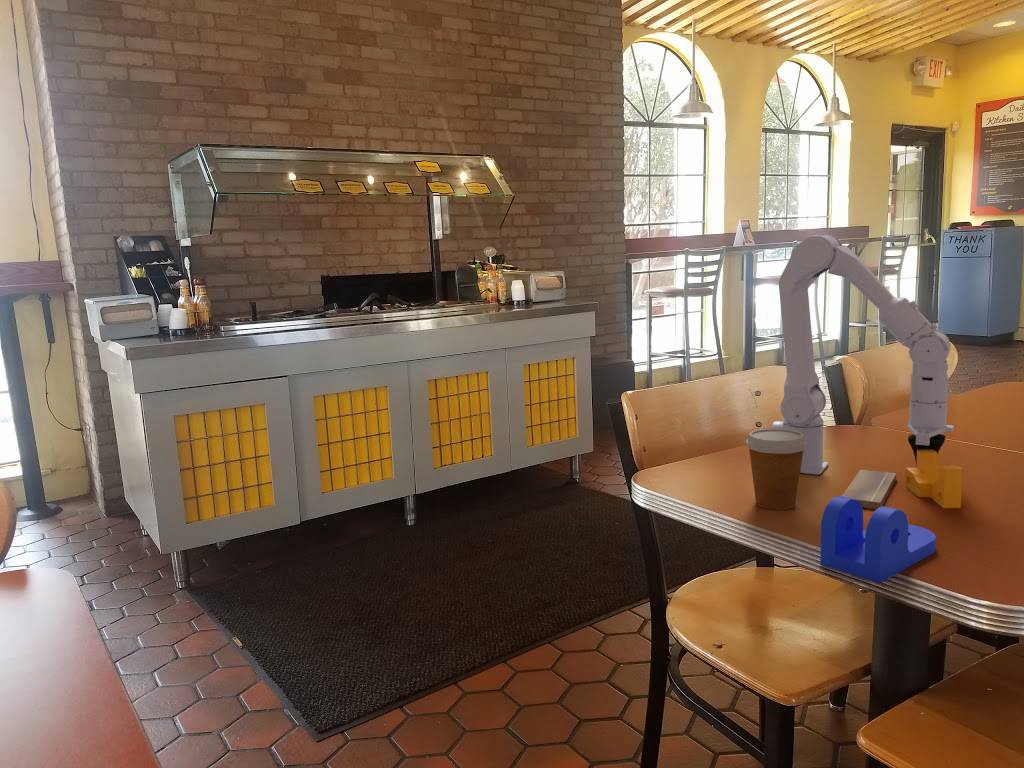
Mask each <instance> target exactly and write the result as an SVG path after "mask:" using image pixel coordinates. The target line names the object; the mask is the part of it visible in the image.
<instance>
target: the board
mask: <svg viewBox="0 0 1024 768" xmlns="http://www.w3.org/2000/svg"><path fill="white" fill-rule="evenodd" d="M896 481H897V473H896V472H890V471H889V472H888V471H877V470H868V469H859V470H858V472H857V474H856V475H855V477H854V478H853V479H852V481H851V483H850V484H849V485H848V487H847V488H846V489H845V491H844V492H843V493H842V494H841V496H843V497H847V498H851V499H856V500H857V501H859V503H860V504H861V506H862V509H863V508H865V509H872V510H876V509H878V508H879V507H882V506H884V503H885V502H886V500H887V498H888V496H889V494H890V492H891V490H892V488H893V486H894V484H895V483H896Z"/></svg>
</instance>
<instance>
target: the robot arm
mask: <svg viewBox="0 0 1024 768" xmlns="http://www.w3.org/2000/svg"><path fill="white" fill-rule="evenodd" d="M826 272H827V274H830V275H834V276H838V277H842V278H845V279H847V280H848V281H849V282H850V283H851V284H852V285H853V286H854V287H855V288H856V289H857V290H858V291H860V293H862V294H863V295H864V296H865V297H866V298H867V299H868V300H869V301H870V302H871V303H872V304H873V305H874V306H875V307H876V308H877V310H878V321H879V322H880V323H881V324H882V325H883V326H884V328H886V329H887V331H888V332H889V333H890V334H891V335H892V336H893V337H894V338H895V339H896V340H897V341H898V342H899V343H900V344H901V345H902V347H906V348H908V349H909V350H908V355H909V358H910V360H911V361H912V373H911V375H910V395H909V398H910V399H909V419H908V420H909V421H908V423H907V429H908V430H909V431H910V432H911V434H909V435H908V437H907V440H908V443H909V445H910V447H911V449H912V452H913V455H914V459H915V466H916V467H915V468H917V450H931V449H933V450H934V451H936V452H937V456H938V455H939V454H938V453H939V451H940V450H941V448H942V446H943V445H944V442H945V441H946V438H947V437H946V435H945V434H942V433H945V432H949V433H950V432H953V431H954V427H955V426H954V425H952V424H947V407H948V386H949V375H948V370H949V364H948V360H947V359H948V358H949V357H948V356H949V354H950V352H951V349H952V348H951V347H952V346H951V345H952V344H951V342H950V340H949V339H950V338H948V337H947V334H946V333H945V332H944V331H942V330H940V329H938V328H939V327H938V325H937V324H936V323H935V322H933V323H931V322H930V321H929V319H927V317H926V316H925V315H924V314H922V312H920V311H919V309H917V308H918V307H919V304H918V303H917V302H916V301H915V300H912V301H910V300H909V299H908V297H907V298H906V297H899V296H898V297H896V296H894V295H893V294H892V292H890V291H889V289H888V288H887V287H886V286H885V285H884V284H883V283H882V281H880V279H878V277H877V276H876V275H875V274H874V273H873V272H872V271H871V269H870V268H869V267H868V266H867V265H866V264H865V263H864V262H863V261H862V259H861V258H860V257H859V256H858V255H857V254H856V253H855V252H854V251H852V249H851V248H850V247H848V246H846V245H843V244H842V241H841V240H840V239H839V238H837V237H836V236H833V235H831V234H822V235H811V236H808V237H806V238H804V239H802V241H800V242H799V243H798V244H797V245H796V246H795V247H794V248H793V249H792V251H791V253H790V257H789V259H788V261H787V263H786V265H785V266H784V269H783V271H782V273H781V275H780V277H779V280H778V291H779V303H780V312H781V313H780V314H781V315H780V316H781V324H782V333H783V335H782V336H783V344H784V345H783V346H784V357H785V366H786V367H785V369H786V377H785V380H784V384H783V398H782V401H781V402H780V403H781V404H780V412H781V415H782V418H783V419H782V421H779V420H776V421H773V422H772V424H771V427H770V429H787V430H794V431H798V432H800V433H802V434H803V435H804V439H805V441H806V442H807V444H806V446H805V449H804V450H803V456H802V463H801V470H800V474H808V475H817V476H818V475H821V474H822V472H823V471H824V470H825V469H826V468H827V467H828V465H829V462H828V461H824V458H823V457H824V419H823V418H822V417H821V413H822V412H823V411H824V409H825V408H826V404H827V397H826V395H825V393H824V391H823V390H822V388H821V385H820V379H819V376H818V374H817V372H816V368H815V356H814V355H815V354H814V345H813V343H814V342H813V333H812V321H811V311H810V298H809V288H810V287H811V286H812V284H814V283H815V282H816V281H817V279H818V278H819V277H820V276H821V275H823V274H824V273H826Z"/></svg>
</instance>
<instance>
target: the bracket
mask: <svg viewBox="0 0 1024 768" xmlns="http://www.w3.org/2000/svg"><path fill="white" fill-rule="evenodd" d="M821 518H822V519H821V524H820V556H819V557H820V563H819V565H821V566H824V567H827V568H831V569H834V570H837V571H841V572H843V573H847V574H849V575H853V576H856V577H859V578H862V579H865V580H869V581H870V582H875V583H878V584H880V583H882V582H884V581H886V580H888V579H889V578H892V577H893V576H895V575H897V574H899V573H901V572H902V571H904V570H906V569H908V568H910V567H912V566H914V565H915V564H917V563H919V562H921V561H923V560H924V559H926V558H928V557H930V556H931V554H932V555H933V554H934V553H935V552H936V545H937V544H936V543H937V541H936V540H937V538H936V537H937V536H936V534H935V533H934V532H933V531H931V530H929V529H927V528H925V527H922V526H918V525H914V524H909V520H908V516H907V515H906V513H905V512H904V511H903V510H902V509H897V508H892V507H890V506H889V507H888V506H884V505H882V507H879V508H878V509H875V511H874V512H873V513H872V515H871V516H870V518H869V520H868V523H867V525H866V529H864V511H863V507H862V506H861V504H860V503H859V501H857V500H856V499H851V498H847V497H843V496H842V495H836V496H834V497H833V498H831V499H830V501H828V503H827V504H826V506H825V508H824V510H823V513H822V517H821ZM929 555H930V556H929ZM923 558H924V559H923ZM920 560H921V561H920ZM918 561H919V562H918ZM916 562H917V563H916ZM914 563H915V564H914ZM911 565H912V566H911ZM909 566H910V567H909Z"/></svg>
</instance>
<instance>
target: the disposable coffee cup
mask: <svg viewBox="0 0 1024 768" xmlns="http://www.w3.org/2000/svg"><path fill="white" fill-rule="evenodd" d="M747 437H748V438H747V439H746V440H745V443H746V445H747V448H748V450H749V457H750V458H749V459H750V464H751V465H750V466H751V474H752V482H753V488H754V489H753V491H754V497H755V503H756V505H757V506H758V507H760V508H763V509H767V510H772V511H773V510H774V511H775V510H776V511H781V510H782V511H783V510H789V509H792V508H794V507H796V503H797V494H798V489H799V482H800V476H801V475H800V474H801V473H800V470H801V463H802V456H803V450H804V449H805V446H806V444H807V442H806V441H805V439H804V435H803V434H802V433H800V432H798V431H794V430H787V429H771V428H762V429H761V428H759V429H756V430H752V431H750V432H749V434H748V436H747Z"/></svg>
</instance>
